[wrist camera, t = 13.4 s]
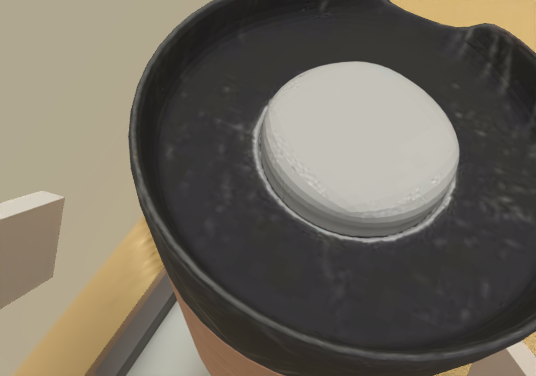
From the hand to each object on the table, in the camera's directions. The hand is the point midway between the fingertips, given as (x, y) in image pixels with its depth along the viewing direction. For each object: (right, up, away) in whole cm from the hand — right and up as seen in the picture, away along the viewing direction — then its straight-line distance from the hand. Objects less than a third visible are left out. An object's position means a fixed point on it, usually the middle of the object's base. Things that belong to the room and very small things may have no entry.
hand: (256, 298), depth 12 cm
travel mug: (+1, -6, +11) cm, 13 cm away
